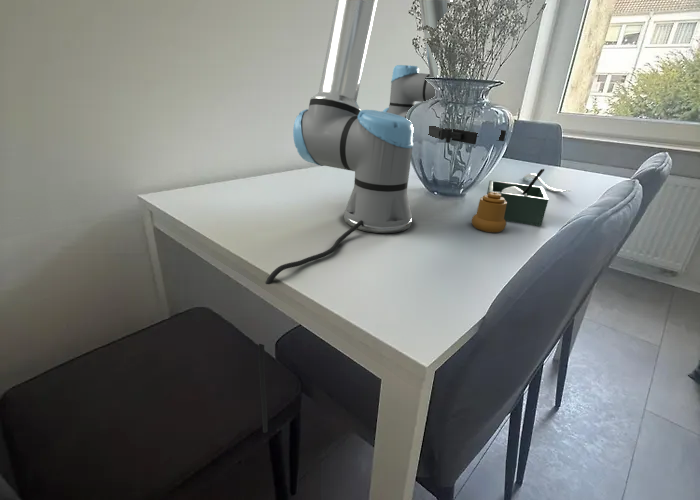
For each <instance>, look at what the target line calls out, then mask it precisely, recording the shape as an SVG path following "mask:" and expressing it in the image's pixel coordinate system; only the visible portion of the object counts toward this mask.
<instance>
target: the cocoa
mask: <svg viewBox="0 0 700 500" xmlns="http://www.w3.org/2000/svg"><path fill="white" fill-rule="evenodd" d="M544 172H545V168H541V169H540V170H538V172H537V173H536V176H535V178H534V179H532V180H531V181H530V183H529V184H527V185H528V187H527V188H526V189H525V190H524V191H522V190H521V189H519V188H517V187H515V186H512V187H509V188H505V189H503V190H502V193H510V194H517V195H524V196H527V194H526V193H527V192H528V191H529V189H530V188H531V187H532V186H534V185H535V183H536V182H537V179H538V178H539V177H540V178H541V176H542V174H543V173H544Z"/></svg>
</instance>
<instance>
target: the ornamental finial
mask: <svg viewBox="0 0 700 500" xmlns="http://www.w3.org/2000/svg"><path fill="white" fill-rule="evenodd" d="M506 204H507V202H506V201H505V199H504V198H503V197H501V194H499V193H495V192H490V193H488V195H487V194H484V195H483V196H482V197H480V198H479V202H478V206H477V210H476V214H474V215H473V216H472V218H471V224H472V226H473V228H474V229H476V230H479V231H481V232H484V233H492V234H493V233H494V234H495V233H501V232H502V231H504V230H505V228H506V227H507V221H505V219H504V215H505V210H506Z"/></svg>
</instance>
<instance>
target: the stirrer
mask: <svg viewBox="0 0 700 500" xmlns="http://www.w3.org/2000/svg"><path fill="white" fill-rule="evenodd" d="M536 175H537V173H527V174H525V175H523V177H522V180H524V181H527V180H530V179H532V180H533V179H534V178H535V176H536ZM537 181H538V182H539V183H540V184H542V186H543V187H544V188H546V189H547V190H548V191H550V192H554V193H559V192H560V193H562V192H566V193H567V192H573V190H572V189H559V188H554V187H550V186H548V185H547V184H545V182H544V181H543V180H542V179H541V176H540V177H539V178H538V179H537V180H536V182H537Z"/></svg>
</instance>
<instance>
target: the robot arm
mask: <svg viewBox="0 0 700 500" xmlns="http://www.w3.org/2000/svg"><path fill="white" fill-rule="evenodd" d="M450 2H453V0H418V3H419V9H420V15H421V16H420V17H421V22H422V28H423V27H424V26H426V25H428V26H430V27H432V28H436V26H437V20H440V19H441V18H443V16H444V14H445V13H446V12H448V11H450V9H448V8H447V3H450ZM377 4H378V0H336V2H335V7H334V11H333V17H332V22H331V27H330V32H329V38H328V42H327V48H326V53H325V58H324V62H323V69H322V72H321V73H322V74H321V79H320V83H319V89H318V93H316V94H315V95H313V96H312V97H311V98H310V99H309V104H308V108H306V109H303V110H302V111H300V112H299V113H298V115H296V118H295V120H294V123H293V129H292V130H293V131H292V136H293V143H294V147H295V148H296V150H297V153H298V155H299V157H301V158H302V159H303V160H304V161H305V162H307V163H310V164H314V165H317V166H320V167H329V168H333V169H334V168H336V169H340V170H346V171H351V172H354V185H353V188H352V191H351V194H350V196H349V199H348V201H347V204H346V207H345V209H344V216H343V218H344V222H345V223H346V224H347V225H348V226H350V228H348V230H347V231H345V232H344V233H343V234H341V235H340V236H339V237H338V239H337V240H336V241H335V242H334V244H333V245H331V247H330V248H328V249H326V250H325V251H323V252H320V253H317V254H314V255H311V256H308V257H305V258H303V259H299V260H298V261H297V260H296V261H291V262H287V263H284V264H281V265H279V266H277V267H276V268H275V269H273V271H272V272H271V273H270V274H269V276H268V277H267V279H266V280H265V284H266V285H270V284H272V283H273V281H274V280H275V279H276V278H277V276H278V275H279V274H280V273H282V272H283V271H285V270H288V269H292V268H296V267H300V266H303V265H305V264H309V263H310V262H314V261H316V260H321V259H323V258H325V257H327V256H329V255H331V254H332V253H334V252H335V251H336V250H337V249H338V247H339V245H340V244H341V243H342V242H343V241H344V240H345V239H346V238H347V237H349V236H350V235H351V234H352V233H354V231H356V230H360V231H364V232H368V233H375V234H394V233H399V232H403V231H406V230H408V229H409V228H410V227H411V226H412V222H413V220H412V219H413V215H412V214H413V213H412V210H411V209H412V208H411V204H410V199H409V194H408V186H409V178H410V169H411V163H412V156H413V155H412V153H413V147H414V145H415V144H414V143H415V142H414V137H413V133H414V127H413V124H412V122H411V121H410V120H408V119H407V118H406V114H407V112H408V110H409V109H410V108H411V107H412V106H414V105H415V106H416V102H417V103H418V102H419V103H424V102H423V101H426V100H429V99H431V98H433V97H434V96H435V89H434V87H433V86H432V85H431V84H430V83H428V82H427V81H426V80H425V78H426V77H436V76H437V75H438V67H437V64H436V62H435V60H434V57H433V55H432V53H431V50H430V47H429V45H428V44H427V43H426V42H425V41H424V44H425V50H426V57H427V64H428V71H429V73H422V72H420V68H419V66H417V65H406V64H396V65H395V66H394V67H393V70H392V75H391V81H390V96H389V104H388V107H386V108H384V109H383V110H381V111H380V110H376V109H361V107H360V106H359V104H358V102H357V100H358V95H359V90H360V87H361V86H360V85H361V81H362V76H363V72H364V67H365V62H366V57H367V53H368V49H369V48H368V47H369V43H370V38H371V32H372V28H373V24H374V18H375V13H376V10H377V9H376V8H377ZM423 34H424V35H423V37H424V39H425V38H429V37H430V34H429V33H428V31H426V30H423ZM500 130H501V135H500V137H499V140H497V141H498V142H505V140H506V134H507V130H504V129H500ZM477 134H478V133H476V132H470V131H464V130H458V129H453V132H452V129H450V128H445V129H443V128H439V127H436V126H429V134H428V135H430V136H432V137H435V138H438V139H437V140H441V141H443V140H445V143H447V144H449V143H451V141H453V142H459V143H465V144H470V145H476V144H477V139H478V136H477ZM258 371H259V373H258V374H259V386H260V387H259V388H260V400H261V402H260V403H261V416H262V433H264V434H266V433H268V408H267V406H268V404H267V403H268V402H267V390H266V375H265V374H266V372H265V344H262V343H258Z"/></svg>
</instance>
